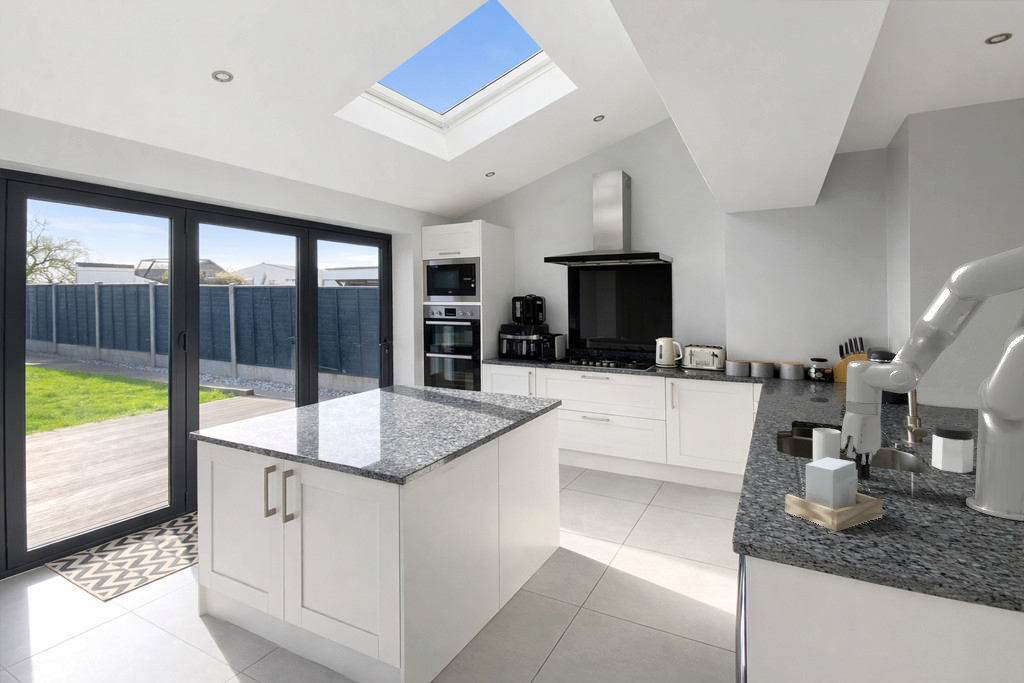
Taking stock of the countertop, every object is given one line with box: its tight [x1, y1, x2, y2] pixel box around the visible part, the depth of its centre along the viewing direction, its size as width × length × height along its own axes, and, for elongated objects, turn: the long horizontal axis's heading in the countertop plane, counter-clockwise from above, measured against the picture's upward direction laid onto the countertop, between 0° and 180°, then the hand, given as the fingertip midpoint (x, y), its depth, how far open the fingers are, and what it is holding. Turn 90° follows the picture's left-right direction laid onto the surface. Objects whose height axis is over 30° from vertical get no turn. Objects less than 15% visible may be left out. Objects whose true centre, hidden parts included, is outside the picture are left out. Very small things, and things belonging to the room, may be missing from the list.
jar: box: [931, 424, 975, 474], centre depth 146 cm, size 9×8×12 cm
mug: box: [812, 427, 842, 462], centre depth 144 cm, size 10×7×12 cm, turn 120°
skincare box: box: [805, 457, 856, 510], centre depth 113 cm, size 10×6×10 cm, turn 124°
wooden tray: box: [784, 491, 884, 532], centre depth 112 cm, size 12×16×4 cm
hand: (861, 478), depth 132 cm, fingers closed
